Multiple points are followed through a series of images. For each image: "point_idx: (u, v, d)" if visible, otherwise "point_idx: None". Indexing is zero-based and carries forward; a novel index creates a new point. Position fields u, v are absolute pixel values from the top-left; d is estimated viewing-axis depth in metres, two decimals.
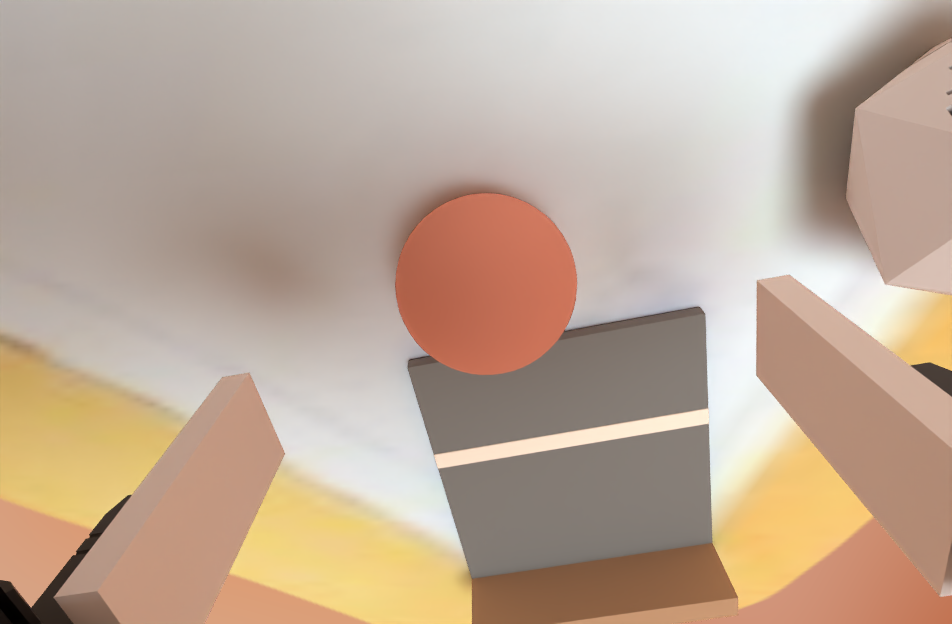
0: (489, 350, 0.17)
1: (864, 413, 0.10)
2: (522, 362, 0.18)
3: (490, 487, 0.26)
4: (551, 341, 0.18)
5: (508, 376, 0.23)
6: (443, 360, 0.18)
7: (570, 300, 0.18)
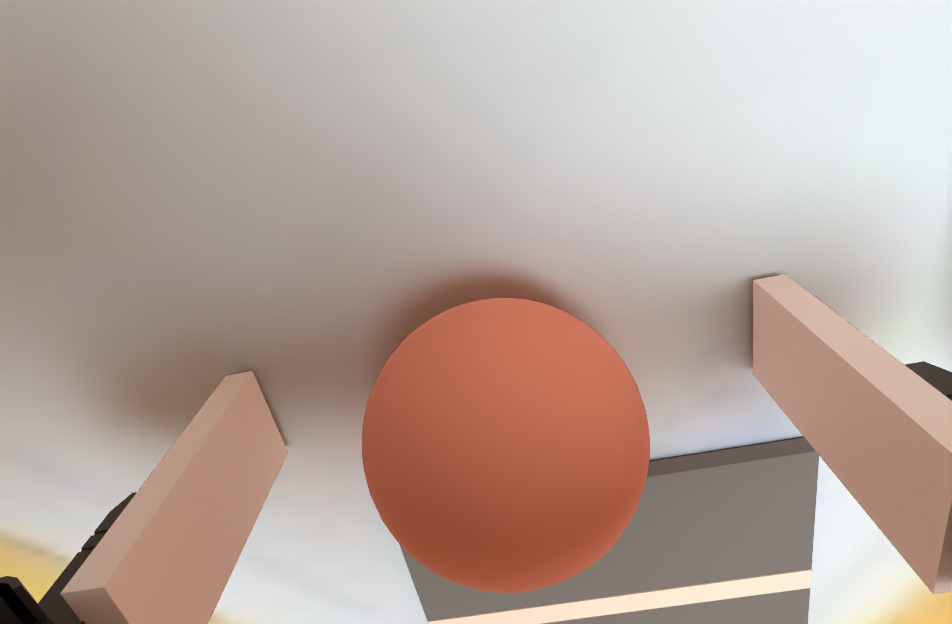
0: (512, 579, 0.10)
1: (859, 412, 0.10)
2: (564, 580, 0.11)
3: None
4: (611, 546, 0.11)
5: None
6: (436, 573, 0.11)
7: (643, 482, 0.11)
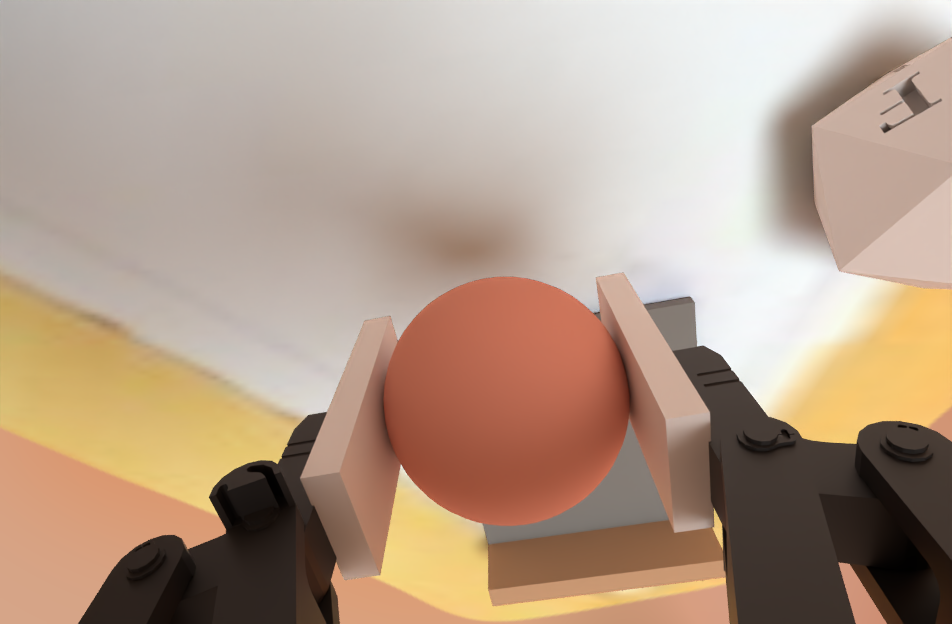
0: (510, 507, 0.12)
1: (637, 387, 0.12)
2: (555, 515, 0.13)
3: None
4: (595, 486, 0.13)
5: None
6: (446, 508, 0.13)
7: (623, 431, 0.13)
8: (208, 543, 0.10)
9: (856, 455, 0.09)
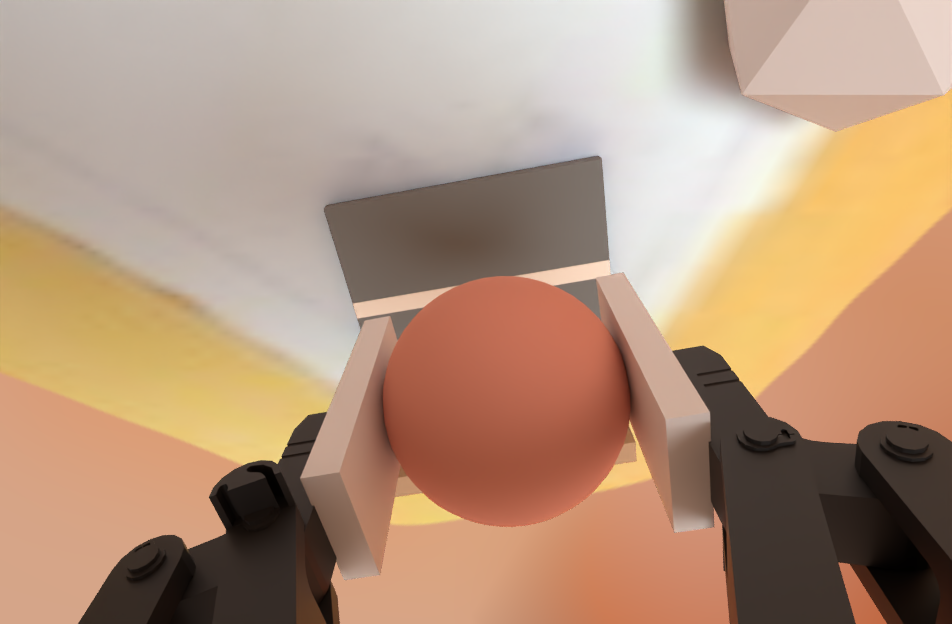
0: (510, 508, 0.12)
1: (637, 387, 0.12)
2: (555, 516, 0.13)
3: None
4: (596, 487, 0.13)
5: (420, 221, 0.25)
6: (445, 509, 0.13)
7: (623, 431, 0.13)
8: (208, 543, 0.10)
9: (856, 455, 0.09)
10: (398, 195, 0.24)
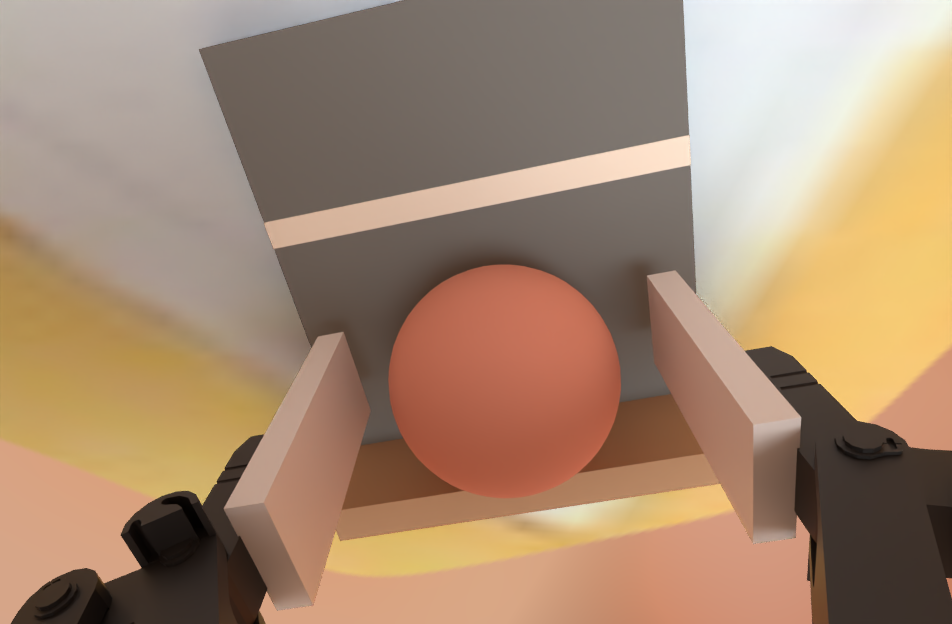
0: (508, 479, 0.13)
1: (706, 390, 0.12)
2: (550, 487, 0.14)
3: (358, 285, 0.17)
4: (588, 460, 0.14)
5: (364, 68, 0.15)
6: (447, 482, 0.14)
7: (614, 408, 0.14)
8: (128, 576, 0.10)
9: None
10: (324, 19, 0.14)
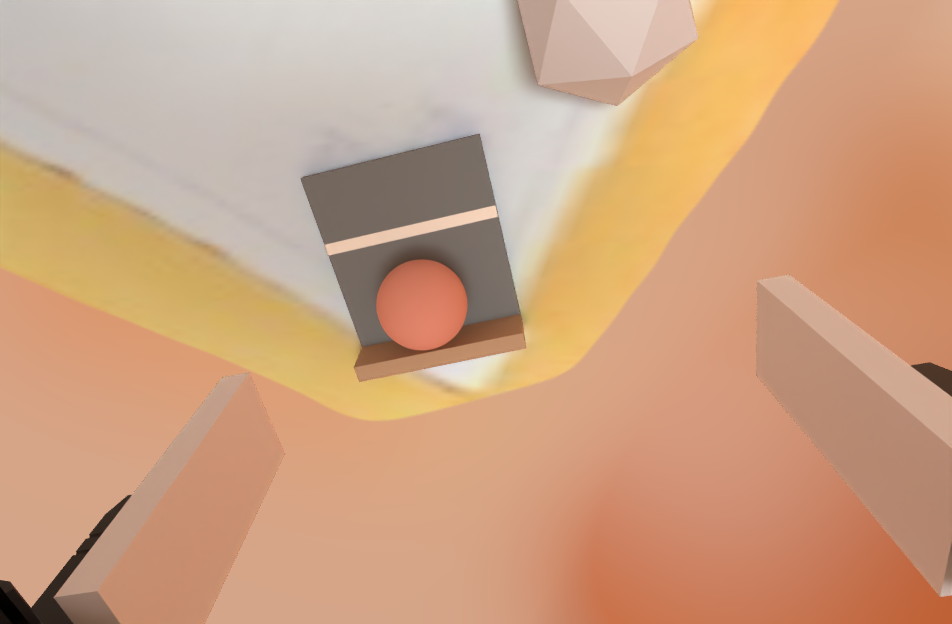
0: (418, 336, 0.35)
1: (864, 413, 0.10)
2: (437, 343, 0.36)
3: (364, 270, 0.40)
4: (451, 332, 0.36)
5: (364, 184, 0.37)
6: (398, 342, 0.37)
7: (459, 312, 0.36)
8: None
9: None
10: (348, 167, 0.37)
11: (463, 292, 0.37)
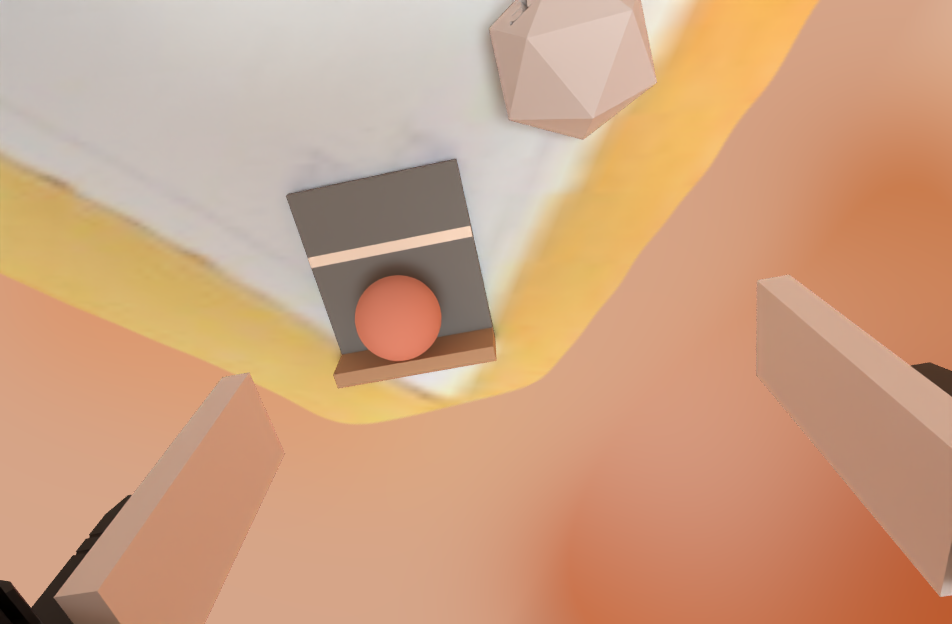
0: (393, 348, 0.38)
1: (864, 413, 0.10)
2: (410, 355, 0.39)
3: (345, 282, 0.42)
4: (424, 345, 0.39)
5: (346, 202, 0.39)
6: (375, 353, 0.39)
7: (432, 326, 0.38)
8: None
9: None
10: (332, 186, 0.39)
11: (437, 307, 0.39)
